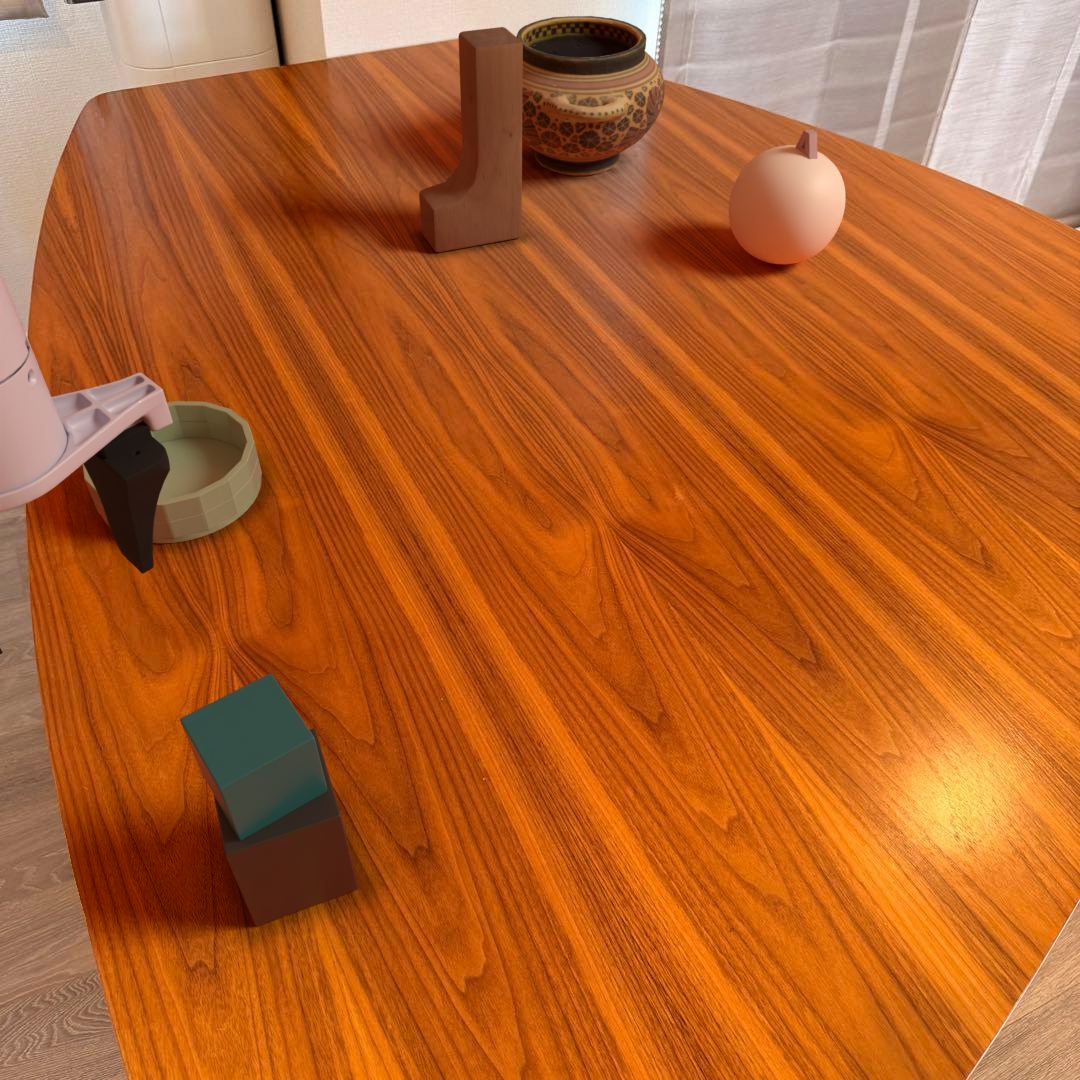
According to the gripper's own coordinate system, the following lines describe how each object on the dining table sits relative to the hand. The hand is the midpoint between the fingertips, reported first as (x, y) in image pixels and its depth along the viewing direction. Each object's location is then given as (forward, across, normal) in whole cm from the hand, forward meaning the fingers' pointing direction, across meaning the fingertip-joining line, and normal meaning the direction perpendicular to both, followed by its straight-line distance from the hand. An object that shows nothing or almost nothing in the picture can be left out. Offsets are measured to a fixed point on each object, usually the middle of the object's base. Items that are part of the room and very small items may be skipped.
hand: (65, 601), depth 47 cm
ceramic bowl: (+11, -74, -33) cm, 81 cm away
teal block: (+3, -2, +13) cm, 13 cm away
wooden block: (+11, -53, -28) cm, 61 cm away
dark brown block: (+10, -2, +13) cm, 17 cm away
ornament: (+11, -71, -5) cm, 72 cm away
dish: (+10, -13, -15) cm, 22 cm away
